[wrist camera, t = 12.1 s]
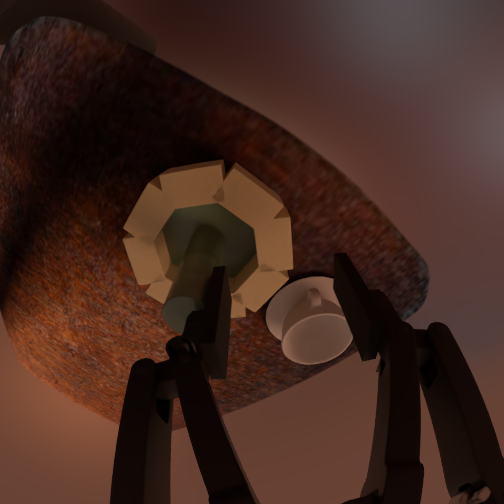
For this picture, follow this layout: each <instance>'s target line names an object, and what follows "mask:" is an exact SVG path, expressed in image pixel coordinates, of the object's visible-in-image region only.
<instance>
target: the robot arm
mask: <svg viewBox="0 0 504 504" xmlns="http://www.w3.org/2000/svg"><path fill="white" fill-rule="evenodd" d="M333 290H334V293H335V295H336V297H337V300H338V302H339V304H340V307H341V309H342V311H343V314H344V316H345V319H346V321H347V324H348V326H349V328H350V331H351V333H352V336H353V338H354V341H355V344H356V346H357V349H358V351H359V354H360V356H361V359H362V361H367V360H371V359H376V356H377V353H378V352H379V355H380V357H381V359H380V362H379V364H378V367H377V371H376V372H378V371H379V378H378V397H377V409H376V419H375V428H374V436H373V443H372V450H371V457H370V462H369V468H368V474H367V478H366V482H365V483H364V486H363V488H362V491H361V495H360V498H357V499H353V500H349V501H347V502H344V503H342V504H420V501H421V495H422V487H423V478H424V467H423V464H422V463H420V459H419V457H420V436H421V433H420V432H421V405H420V385H421V387H422V390H423V394H424V397H425V400H426V403H427V407H428V410H429V413H430V417H431V420H432V424H433V428H434V432H435V435H436V440H437V444H438V448H439V452H440V456H441V462H442V467H443V472H444V477H445V482H446V486H447V489H448V492H449V495H450V497H451V500H450V502H449V504H504V458H503V456H502V454H501V450H500V447H499V443H498V440H497V437H496V433H495V431H494V427H493V425H492V422H491V419H490V416H489V413H488V411H487V408H486V405H485V403H484V400H483V398H482V395H481V393H480V391H479V388H478V386H477V384H476V381H475V379H474V377H473V375H472V372H471V370H470V368H469V366H468V364H467V362H466V360H465V358H464V356H463V354H462V352H461V350H460V348H459V346H458V344H457V342H456V340H455V339H454V337H453V335H452V333H451V331H450V329H449V328H448V327H447V326H446V325H445V324H443V323H440V322H434V323H431V324H430V325H429V326H428V329H427V330H423V329H413V327H412V326H411V325H410V324H408V323H406V322H403V321H402V320H401V319H400V317H399V315H398V314H397V312H396V311H395V309H394V307H393V306H392V305H391V303H390V301H389V299H388V298H387V296H386V295H385V294H384V293H383V292H382V291H380V290H379V289H375V290H369V289H368V288H367V286H366V284H365V283H364V281H363V279H362V278H361V276H360V274H359V273H358V271H357V270H356V268H355V266H354V265H353V263H352V262H351V260H350V259H349V257H348V255H347V254H346V252H345V253H337V254H334V278H333ZM231 307H232V297H231V292H230V287H229V282H228V277H227V272H226V266H217V267H213V272H212V276H211V281H210V286H209V290H208V295H207V300H206V305H205V310H198V311H192V312H191V313H190V314H189V315H188V316H187V319H186V323H185V326H184V331H183V334H182V335H181V336H176V337H174V338H172V339H171V340H169V341H168V343H167V344H166V351H167V354H168V356H169V358H170V359H169V360H166V361H163V362H159V363H155V362H154V361H153V360H152V359H149V358H144V359H140V360H138V361H136V362H135V363H134V364H133V366H132V368H131V371H130V376H129V380H128V385H127V389H126V394H125V399H124V404H123V409H122V414H121V420H120V425H119V431H118V438H117V444H116V452H115V458H114V467H113V475H112V485H111V497H110V504H170V462H171V432H172V413H173V399H175V398H179V399H180V403H181V407H182V411H183V415H184V419H185V422H186V426H187V430H188V433H189V437H190V440H191V443H192V447H193V450H194V453H195V456H196V460H197V463H198V466H199V468H200V472H201V475H202V477H203V480H204V483H205V486H206V489H207V491H208V494H209V504H260V502H259V500H258V499H257V497H256V495H255V493H254V491H253V489H252V486H251V484H250V482H249V480H248V478H247V476H246V473H245V471H244V469H243V467H242V465H241V462H240V460H239V458H238V456H237V453H236V451H235V449H234V446H233V444H232V442H231V439H230V436H229V434H228V431H227V429H226V426H225V424H224V421H223V419H222V416H221V413H220V411H219V408H218V405H217V403H216V400H215V397H214V394H213V392H212V389H211V386H210V383H209V381H208V379H209V374H210V377H211V379H226V375H227V360H228V346H229V333H230V320H231ZM419 382H420V383H419Z"/></svg>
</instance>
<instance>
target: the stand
mask: <svg viewBox="0 0 504 504" xmlns="http://www.w3.org/2000/svg"><path fill="white" fill-rule="evenodd" d="M162 230H163V234H164V238H165V242H166V245H167V249H168V253H169V256H170V260H171V262H172V263H174V264H175V265H177V266H178V270H177V272H176V275H175V277H174V280H173V282H172V285H171V287H170V290H169V292H168V295H167V297H166V300H165V303H164V305H163V308H162V315H163V318H164V321H165V322H166V324H167V325H168V326H169V327H170V328H172V329H173V330H175V331H176V332H178V333H181V334H183V331H184V326H185V323H186V319H187V316H188V315H189V314H190V313H191V312H192V311H198V310H205V305H206V300H207V295H208V290H209V286H210V281H211V276H212V272H213V267H217V266H226V272H227V277H228V278H231V277H236V276H237V275H238V273H239V272H240V271H241V270H242V269H243V268H244V267H245V266H246V264H247V263H248V262H249V261H250V260H251V259H252V258H253V257H254V255H255V254H256V253H257V251H256V243H255V235H254V228H252V227H251V226H250V225H248V224H247V223H245V222H244V221H243V220H241V219H240V218H238V217H237V216H236V215H234V214H233V213H231V212H230V211H229V210H227V209H226V208H224V207H223V206H222V205H220V204H219V203H212V204H205V205H199V206H192V207H185V208H179V209H175V211H174V212H173V214H172V215H171V217H170V218H169V220H168V221H167V223H166V224H165V226H164V227H163V229H162Z"/></svg>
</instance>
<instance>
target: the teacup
mask: <svg viewBox="0 0 504 504" xmlns="http://www.w3.org/2000/svg"><path fill="white" fill-rule="evenodd" d="M266 323H267V326H268V328H269V330H270V331H271V333H272V334H273V335H274V336H275V337H276V338H278V339H279V340H281V341H282V342H281V345H282V350H283V352H284V354H285V355H286V356H287V357H288V358H289V359H290V360H292V361H294V362H297V363H301V364H318V363H323V362H326V361H329V360H331V359H333V358H335V357H337V356H338V355H340V354H341V353H342V352H343V351H344V350H345V349H346V348H347V347H348V346H349V344H350V343H351V341H352V338H353V336H352V333H351V331H350V328H349V326H348V324H347V321H346V319H345V316H344V314H343V311H342V309H341V307H340V304H339V302H338V300H337V297H336V295H335V293H334V290H333V279H332V278H327V277H309V278H304V279H300V280H297V281H295V282H293V283H291V284H289V285H287V286H286V287H284V288H283V289H281V290H280V291H279V292H278V293H277V294H276V295H275V296H274V297H273V299H272V300H271V302H270V303H269V305H268V308H267V311H266Z"/></svg>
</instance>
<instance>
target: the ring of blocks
mask: <svg viewBox="0 0 504 504" xmlns="http://www.w3.org/2000/svg"><path fill="white" fill-rule="evenodd" d="M212 203H219V204H220V205H222V206H223V207H224V208H226V209H227V210H229V211H230V212H231V213H233V214H234V215H236V216H237V217H238V218H240V219H241V220H243V221H244V222H245V223H247V224H248V225H250V226H251V227H252V228H254V235H255V243H256V251H257V253H256V254H255V255H254V257H253V258H252V259H251V260H250V261H249V262H248V263H247V264H246V266H245V267H244V268H243V269H242V270H241V271H240V272H239V273H238V275H237V276H236V277H231V278H228V282H229V287H230V292H231V297H232V307H231V318H237V317H246V308H248V309H250V310H252V311H253V312H256V311H257V310H258V309H259V308H260V307H261V306H262V305H263V304H264V303H265V302H266V301H267V300H268V299H269V298H270V297H271V296H272V295H273V294H274V293H275V292H276V291H277V290H278V289H279V288H280V287H281V286H282V285H283V284H284V283H285V282H286V281H287V280H288V279H289V277H288V272H287V270H290V269H293V255H292V238H291V223H290V216H289V213H288V211H287V209H286V206H284V205H283V202H282V200H281V197H280V196H279V195H278V194H277V193H275V192H274V191H273V190H272V189H270V188H269V187H268V186H266V185H265V184H264V183H262V182H261V181H260V180H259V179H257V178H256V177H255V176H253V175H252V174H251V173H249V172H248V171H247V170H245V169H244V168H243V167H241V166H240V165H239V164H237V163H234V165H233V166H232V167H231V168H230V170H229V171H228V172H227V173H226V172H225V166H224V160H223V159H222V160H215V161H209V162H203V163H197V164H191V165H185V166H180V167H175V168H170V169H168V170H166V171H165V172H163V173H162V174H160V175H159V176H157V177H156V178H154V179H153V180H152V181H150V182H149V183H148V184H147V186H146V188H145V190H144V191H143V193H142V195H141V196H140V198H139V200H138V202H137V203H136V205H135V207H134V209H133V211H132V212H131V214H130V216H129V218H128V220H127V222H126V223H125V225H124V227H123V229H125V230H126V231H128V234H127V235H126V236H125V237H124V238H123V242H124V245H125V248H126V251H127V254H128V257H129V260H130V263H131V266H132V268H133V271H134V274H135V277H136V279H137V282H138V284H139V285H143V284H149V286H148V288H147V290H146V294H148V295H149V296H151V297H153V298H154V299H156V300H158V301H159V302H161V303H162V304H164V303H165V300H166V297H167V295H168V292H169V290H170V287H171V285H172V282H173V280H174V277H175V275H176V272H177V270H178V266H177V265H175V264H174V263H172V262H171V260H170V256H169V253H168V249H167V245H166V242H165V238H164V234H163V230H162V229H163V227H164V226H165V224H166V223H167V221H168V220H169V218H170V217H171V215H172V214H173V212H174V211H175V209H179V208H185V207H192V206H199V205H205V204H212Z"/></svg>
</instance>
